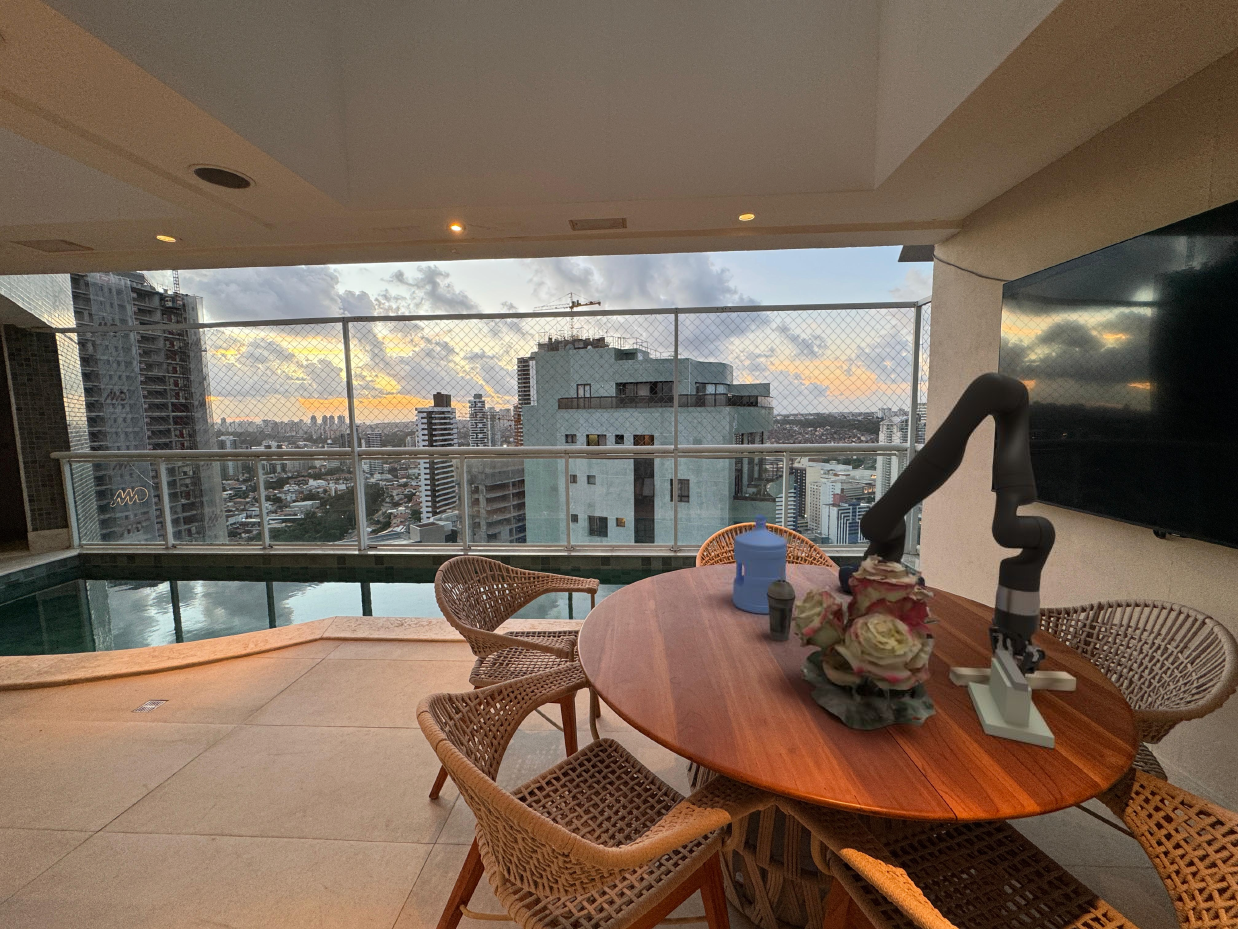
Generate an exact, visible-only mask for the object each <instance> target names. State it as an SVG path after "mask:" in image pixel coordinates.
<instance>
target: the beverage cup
mask: <svg viewBox="0 0 1238 929" xmlns="http://www.w3.org/2000/svg"><path fill="white" fill-rule="evenodd" d="M767 599H768V603H769V614H768V618H769V632H770V633H769V634H770V638H771V639H772V640H774V641H777V642H787V641H788V640H789V638H790V632H791V625H792V624H791V623H792V621H791V618H792V617H793V616H792V615H793V611H794V610H793V609H794V606H795V605H794V602H796V601H795V600H796V591H795V589H794V587H793V585H792V584H791V583H790V582H788V580H786V581H785V580H783V565H781V578H780V580H776V581H773V582H772V583H771V584H770V586H769V587H768V590H767Z"/></svg>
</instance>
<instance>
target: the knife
mask: <svg viewBox="0 0 1238 929" xmlns="http://www.w3.org/2000/svg"><path fill="white" fill-rule="evenodd" d="M991 622H992V624H993V627H997V626H996V625H995V624H994V617H992V618H991ZM1032 647H1033V649H1034V650H1035V651H1036V652H1041V653H1042V655H1043V657H1042V659H1041V661H1040V662H1042V661H1044V660H1045V659H1046V651H1045V650H1044V649H1042V648H1040V647H1038V646H1036V645H1034V644H1033V646H1032Z"/></svg>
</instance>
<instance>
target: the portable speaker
mask: <svg viewBox="0 0 1238 929" xmlns="http://www.w3.org/2000/svg"><path fill="white" fill-rule="evenodd" d="M860 566H861V563H860V562H855V561H849V562H848V561H847V562H846V561H845V562H843V563H841V564H840V567H839V569H838V575H837V576H838V582H839V584H840V587H841V589H843V590H844V591H846V592H848V593H852V594H853V592H852V590H851V588H850V586H849V583H848V582H849V579H850V578H851V577H850V575H852V573H857V572H858V571H859V568H860ZM909 572H910V573H911V574H912V575H913V576H914V575H916V574H917V573H914V572H912V571H909ZM917 583H918V585H922V586H924V587H925V588H926V587H927V586H926V580H925V578H924V577H923V576H921V577H920V578H918V582H917Z"/></svg>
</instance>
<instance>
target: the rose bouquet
mask: <svg viewBox="0 0 1238 929" xmlns="http://www.w3.org/2000/svg"><path fill="white" fill-rule="evenodd" d="M876 555H878V554H876ZM910 572H911V569H907V568H905V567H904V566H903V565H902V564H901V563H900V564H898V563H895V562H891V561H885V560H882V558H880V557H877V556H875V555H874V556H868V558H867V560H866V561H863V560H862V561H861V566H860V568H859V571H858V572H857V573H852V575H850V577H851V578H850V579H849V582H848V583H849V586H850V588H851V590H852V592H853V593H852V592H851V593H852V598H851V599H850V601H846V600H844V599H841V598H839V597H838V596H837V595H836V594H834V593H832V591H831V590H830V587H829V586H828V585H826V586H822V587H820V588H813V589H809V591H808V592H807V593H806V595H805V597H804V598H803V599H801V600H797V601H794V605H793V606H795V608H794V611H795V612H794V616H792V618H791V622H794V623H793V627H792V628H793V629H792V632H793V633H794V635H795V636H797V638H798V639H799V640H801V642H800V645H799V647H800V648H805V647H808V646H813V647H816V648H817V647H818V648H820V650H815V651H812V652H811V653H810V654H809V655H807V656H806V659H805V663H803V665H802V666H801V668H800V670H801V672H802V673H803V675H804V677H802V676H801V677H800V678H801V679H804V680H806V681H807V682H809V683H810V684H811V685H813V686H815V689H814V690H813V691H812V692H810V695H811V697H812V699H814V701H815V703H817V704H818V705H820V706H822V707H824V708H825V709H826V710H828V711H829V712H830V713H832V714H834V716H837V717H839V719H841V721H842V722H843V724H845V725H846V726H847V727H848V728H849V729H856V730H866V731H868V730H869V731H870V730H876V729H881V728H883V727H887V726H888V727H889V726H891V725H893V724H908V725H915V726H922V725H923V723H925V721H926V719H927V718H929V717H931V716H933V715H935V714H937V712H936V711H935V709H934V701H933V699H932V698H931V697H930V695H929V694H928V692H927V690H926V686H925V684H924V682H926V681H929V680H930V676H931V675H930V673H929V658H930V655H931V653H932V651H933V648H934V645H936V642H935V637H934V635H933V634H932V633H931V630H930V628H929V627H928V626H927V625H929V624H936V623H939V622H941V621H942V620H937V619H933V620H927V618H928V617H929V618H930V617H932V615H931V613H930V608H929V606H928V603H927V601H926V598H930V599H932V600H934V599H935V597H936V596H937V595H936V594H934V593H933V592H932V591H930V590H929V589H928V588H925V587H926V586H925V587H924V586H922V585H918V583H917V582H918V578H920V577H922V573H923V572H922V571H917V573H915V574H916V575H914V576H913V575H912V574H911V573H910ZM793 677H795V676H793ZM843 688H845V690H844V689H843ZM847 691H848V692H847ZM909 691H910V692H909ZM910 693H911V694H910ZM858 694H859V695H858ZM860 694H863V695H860ZM864 695H865V696H864ZM913 718H919V719H920V720H919V719H918V720H915V719H914V720H913Z"/></svg>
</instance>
